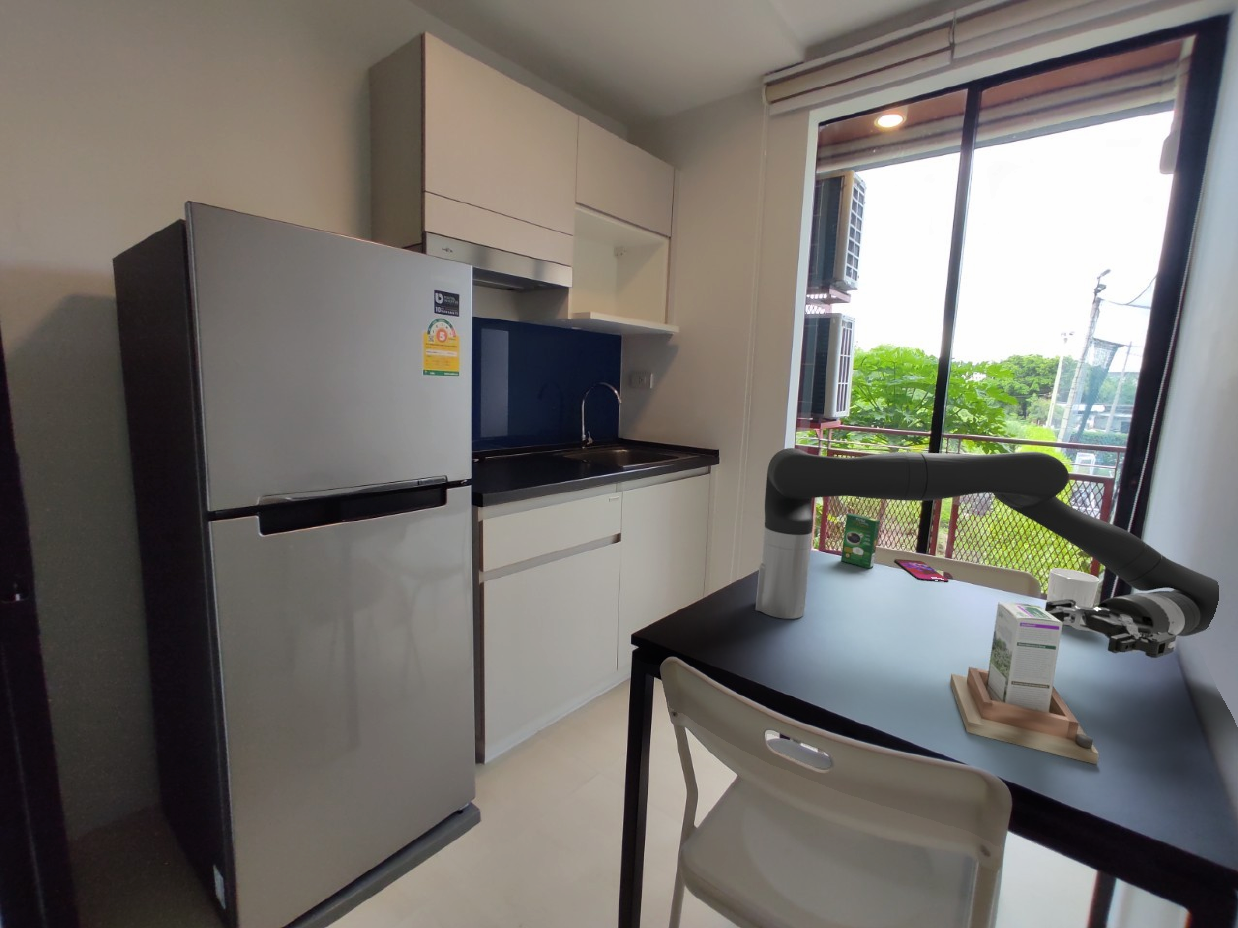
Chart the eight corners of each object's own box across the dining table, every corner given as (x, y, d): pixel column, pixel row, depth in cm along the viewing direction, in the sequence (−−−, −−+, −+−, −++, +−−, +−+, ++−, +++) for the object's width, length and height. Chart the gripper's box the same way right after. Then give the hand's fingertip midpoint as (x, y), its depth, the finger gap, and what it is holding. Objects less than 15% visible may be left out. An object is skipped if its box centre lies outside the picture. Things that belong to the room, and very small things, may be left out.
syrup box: (1049, 722, 74) (1067, 622, 72) (1001, 715, 75) (1017, 616, 73) (1026, 699, 80) (1042, 605, 77) (982, 692, 81) (996, 600, 79)
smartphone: (917, 578, 134) (893, 558, 149) (917, 581, 134) (892, 561, 149) (950, 580, 133) (922, 560, 148) (949, 584, 134) (921, 563, 148)
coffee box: (875, 567, 142) (881, 518, 140) (870, 569, 140) (876, 520, 138) (844, 559, 148) (850, 512, 146) (840, 561, 146) (845, 513, 144)
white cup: (1032, 612, 117) (1040, 567, 115) (1066, 612, 118) (1074, 568, 116) (1065, 628, 109) (1074, 581, 108) (1101, 628, 110) (1110, 581, 108)
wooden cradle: (967, 732, 73) (971, 704, 73) (949, 682, 86) (953, 658, 86) (1096, 764, 68) (1102, 735, 68) (1058, 705, 81) (1062, 681, 80)
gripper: (1091, 580, 91) (1028, 589, 85) (1206, 614, 78) (1142, 628, 72) (1083, 622, 92) (1021, 634, 86) (1195, 662, 79) (1132, 680, 73)
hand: (1076, 631), depth 79 cm, fingers open, 8 cm apart
